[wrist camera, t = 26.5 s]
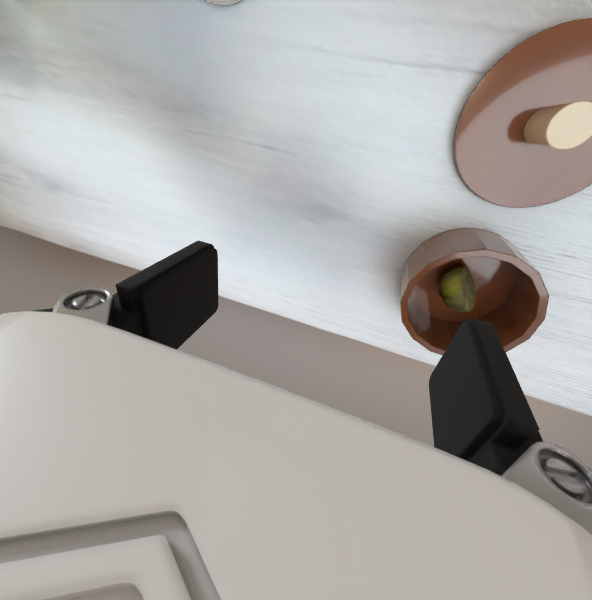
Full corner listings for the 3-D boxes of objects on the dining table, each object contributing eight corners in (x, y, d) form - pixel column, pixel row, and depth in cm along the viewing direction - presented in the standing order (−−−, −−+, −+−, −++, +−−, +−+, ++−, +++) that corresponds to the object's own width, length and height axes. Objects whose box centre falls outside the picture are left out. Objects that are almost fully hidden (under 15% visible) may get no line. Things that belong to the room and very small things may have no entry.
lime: (454, 255, 32) (461, 273, 28) (490, 277, 32) (502, 299, 28) (427, 283, 35) (429, 303, 31) (460, 304, 35) (467, 327, 31)
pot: (424, 216, 32) (428, 235, 26) (548, 244, 29) (582, 272, 24) (388, 306, 39) (385, 337, 33) (486, 335, 36) (501, 373, 31)
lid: (498, 15, 23) (524, -18, 18) (703, 32, 20) (801, 0, 15) (430, 189, 30) (435, 201, 25) (573, 218, 28) (610, 238, 23)
